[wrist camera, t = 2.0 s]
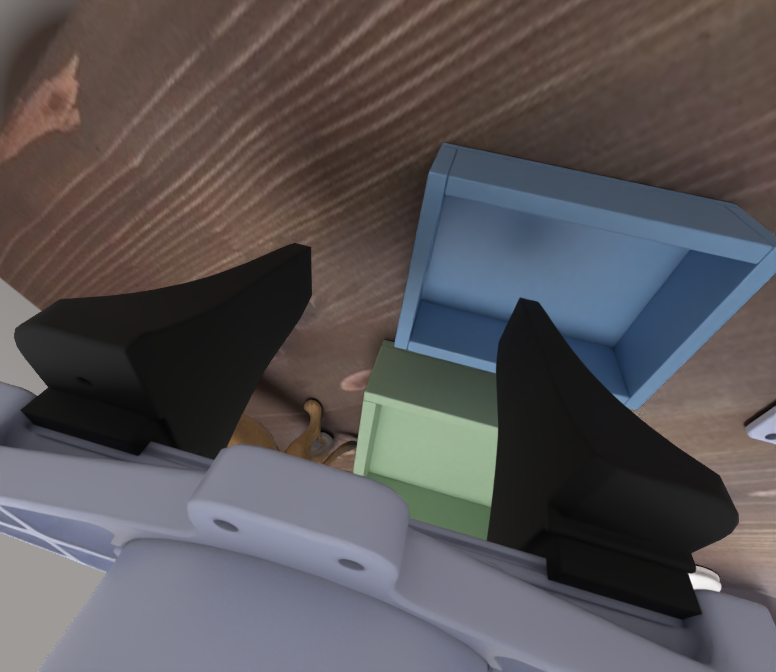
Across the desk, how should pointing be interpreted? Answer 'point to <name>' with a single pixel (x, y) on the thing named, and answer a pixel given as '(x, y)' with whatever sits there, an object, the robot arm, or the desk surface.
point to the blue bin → (575, 266)
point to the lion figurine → (260, 436)
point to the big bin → (431, 437)
